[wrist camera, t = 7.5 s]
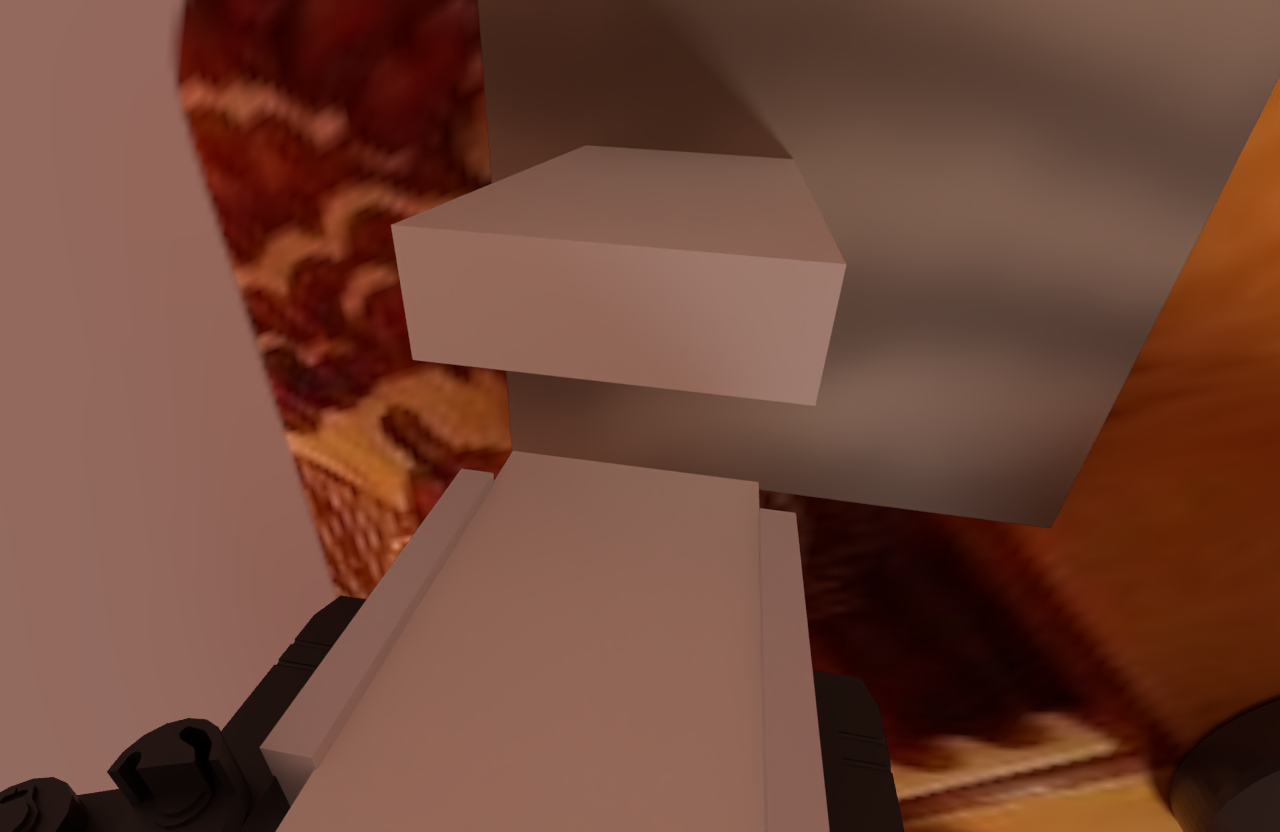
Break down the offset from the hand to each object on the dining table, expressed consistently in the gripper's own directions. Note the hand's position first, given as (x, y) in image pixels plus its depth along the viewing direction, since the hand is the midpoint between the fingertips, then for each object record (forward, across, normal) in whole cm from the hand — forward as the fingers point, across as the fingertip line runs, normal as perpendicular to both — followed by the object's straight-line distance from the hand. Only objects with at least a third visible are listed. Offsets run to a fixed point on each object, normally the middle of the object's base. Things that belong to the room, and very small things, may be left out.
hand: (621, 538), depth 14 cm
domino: (+8, 0, -6) cm, 10 cm away
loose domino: (+1, 0, 0) cm, 1 cm away
